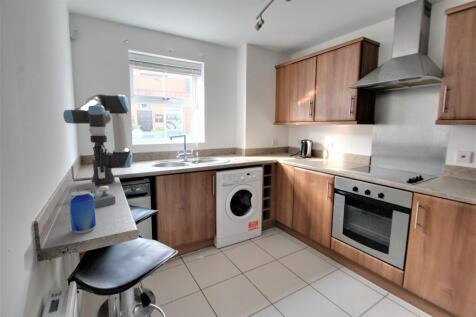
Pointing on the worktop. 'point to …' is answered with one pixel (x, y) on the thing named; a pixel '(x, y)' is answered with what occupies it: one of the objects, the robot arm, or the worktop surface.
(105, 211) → the worktop surface
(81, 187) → the electrical switch
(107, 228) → the worktop surface
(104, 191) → the knob cream
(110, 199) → the mount block
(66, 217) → the worktop surface
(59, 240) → the worktop surface
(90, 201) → the beer can
